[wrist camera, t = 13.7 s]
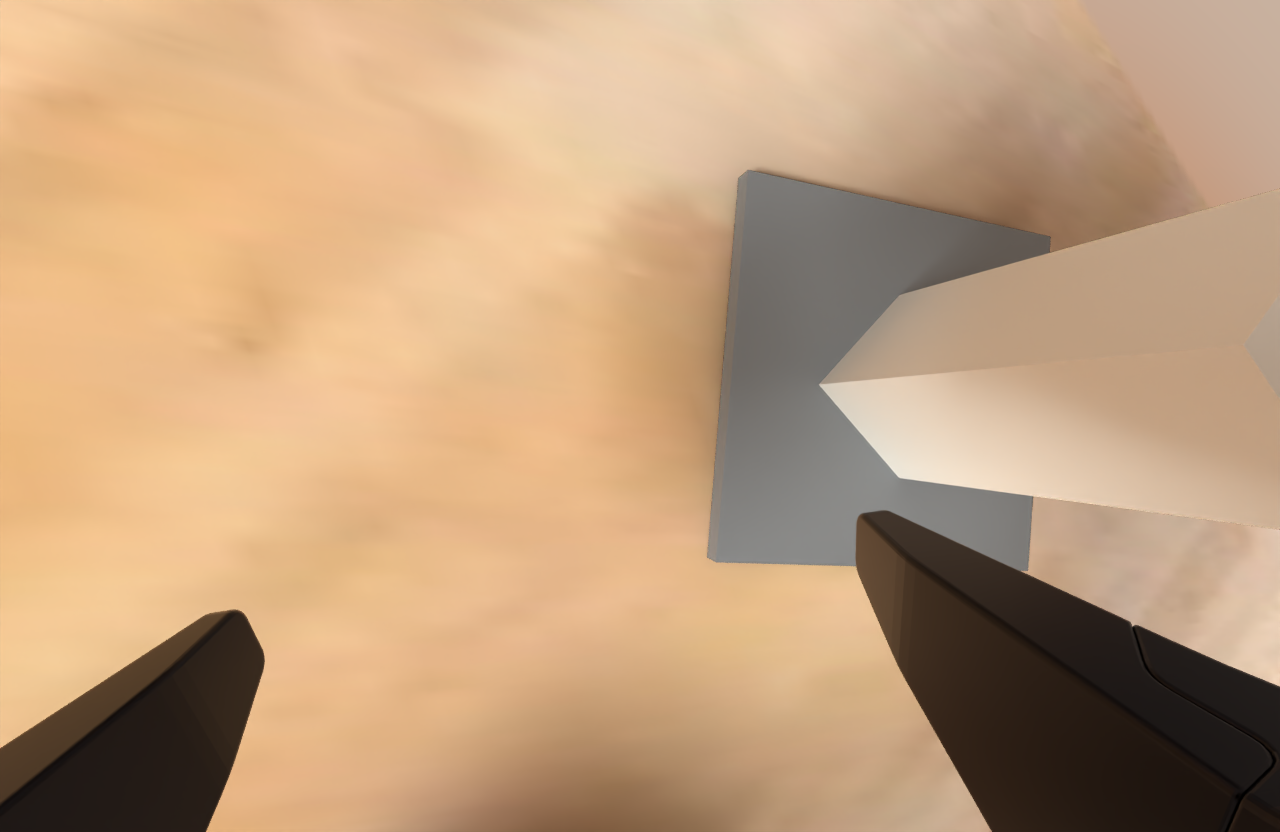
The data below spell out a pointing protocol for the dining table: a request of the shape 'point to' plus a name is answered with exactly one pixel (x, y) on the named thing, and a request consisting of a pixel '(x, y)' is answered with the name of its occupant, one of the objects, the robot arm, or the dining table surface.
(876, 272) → the gray mat
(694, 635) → the dining table surface
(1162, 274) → the off-white block
